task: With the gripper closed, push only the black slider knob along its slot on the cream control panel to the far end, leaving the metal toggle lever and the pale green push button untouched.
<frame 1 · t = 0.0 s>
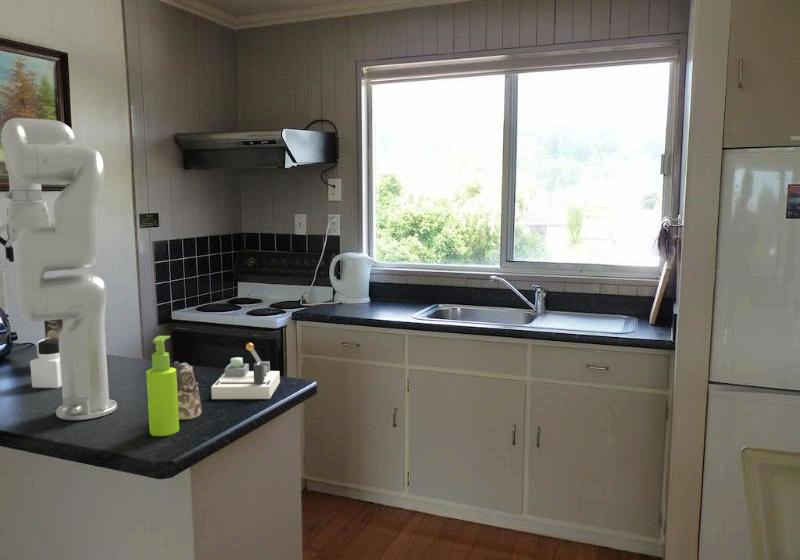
hand: (31, 260, 183), 31 cm above the worktop, tool pointing down, fingers open, 9 cm apart
slider knob: (259, 372, 165), point 6 cm above the worktop, slide at -4.0 cm
push button: (236, 363, 173), point 6 cm above the worktop, slide at 0.0 cm
toggle lever: (256, 357, 173), point 7 cm above the worktop, hinge at -30.0°
panel: (247, 390, 169), on the worktop
coffee box: (66, 365, 194), on the worktop
medicine bottle: (53, 385, 175), on the worktop
figurine: (185, 415, 151), on the worktop
soap dispenser: (165, 431, 142), on the worktop
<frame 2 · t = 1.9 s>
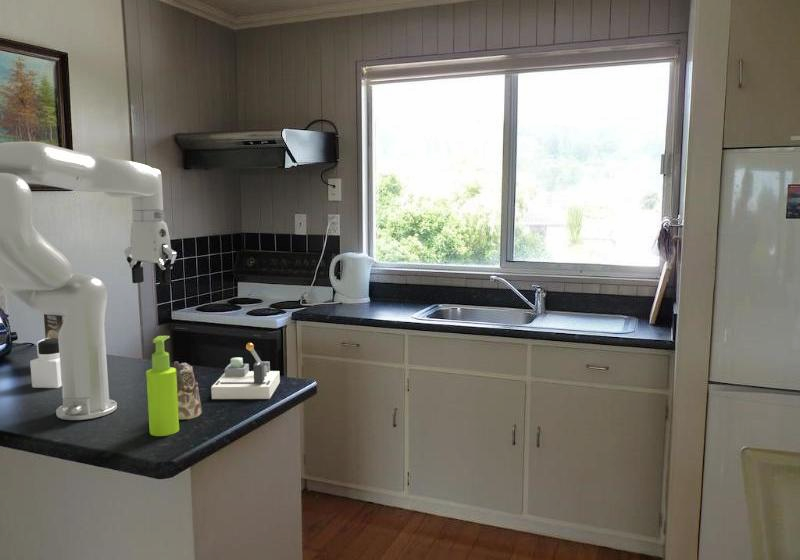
hand: (151, 283, 173), 26 cm above the worktop, tool pointing down, fingers open, 9 cm apart
nothing on the worktop moved.
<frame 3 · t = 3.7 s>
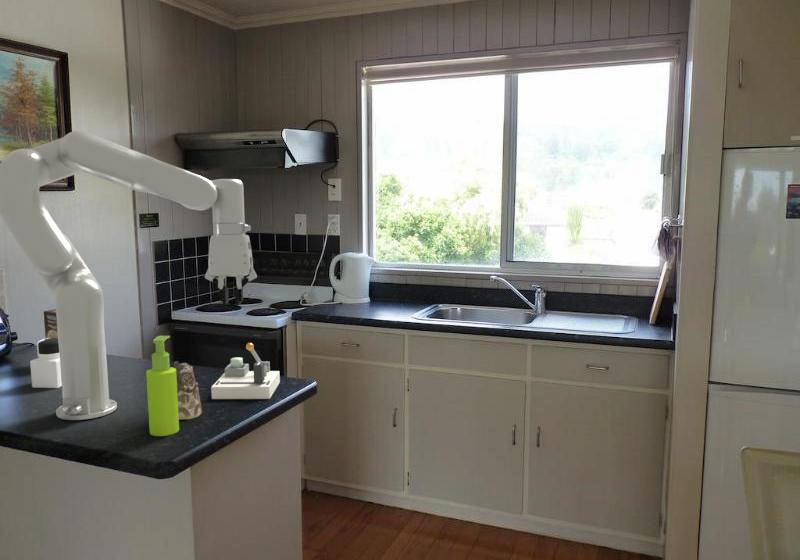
hand: (232, 303, 166), 22 cm above the worktop, tool pointing down, fingers closed
nothing on the worktop moved.
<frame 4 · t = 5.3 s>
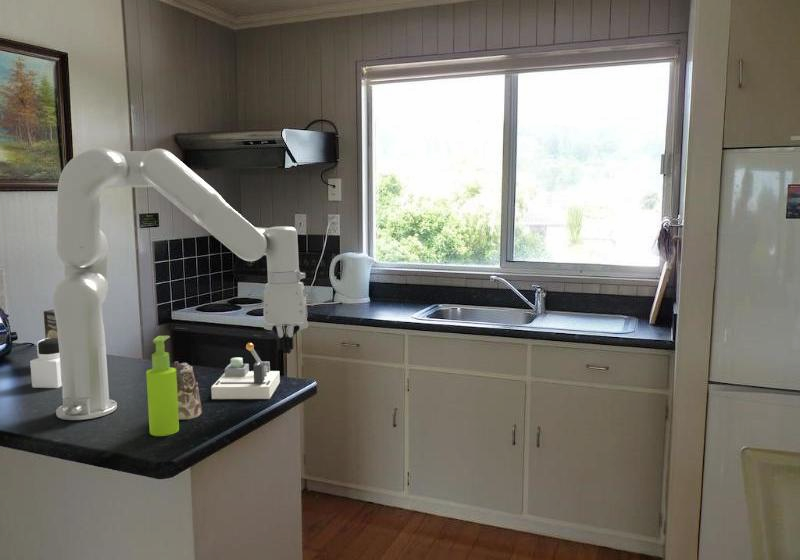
hand: (287, 352, 164), 11 cm above the worktop, tool pointing down, fingers closed
nothing on the worktop moved.
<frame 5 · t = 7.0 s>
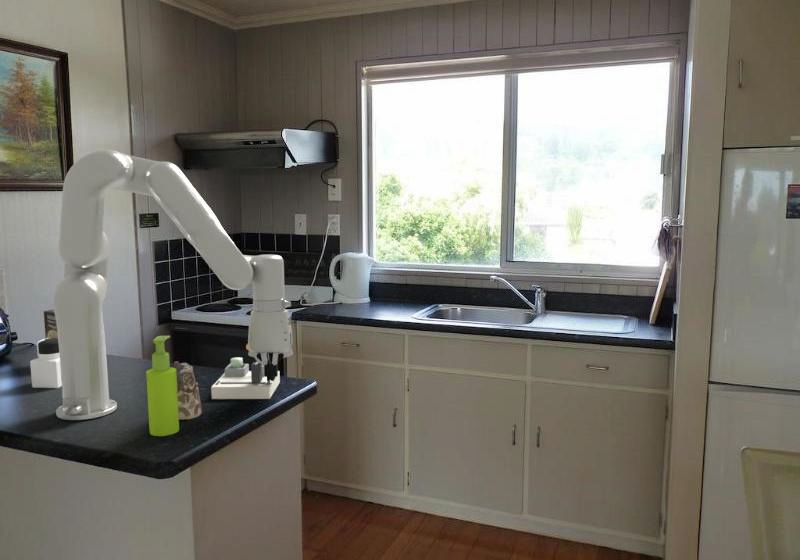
hand: (271, 379, 165), 4 cm above the worktop, tool pointing down, fingers closed
slider knob: (256, 372, 165), point 6 cm above the worktop, slide at -3.4 cm, touching gripper
everything else where it was.
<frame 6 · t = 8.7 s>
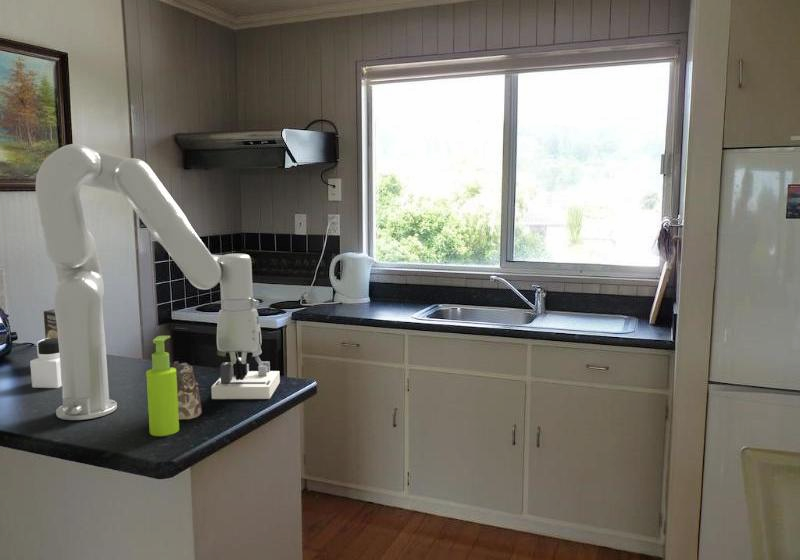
hand: (240, 378, 165), 4 cm above the worktop, tool pointing down, fingers closed
slider knob: (226, 372, 165), point 6 cm above the worktop, slide at 4.1 cm, touching gripper
everything else where it was.
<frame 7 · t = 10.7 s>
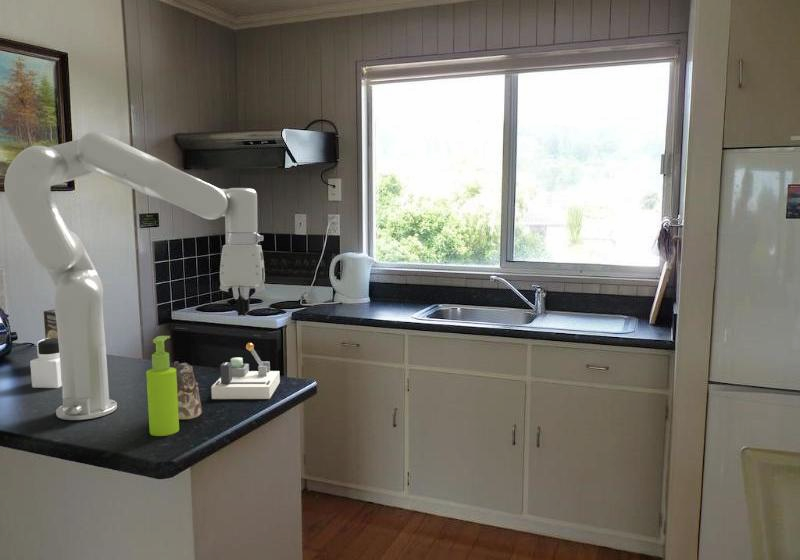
hand: (242, 314, 164), 20 cm above the worktop, tool pointing down, fingers closed
slider knob: (226, 372, 165), point 6 cm above the worktop, slide at 4.0 cm
everything else where it was.
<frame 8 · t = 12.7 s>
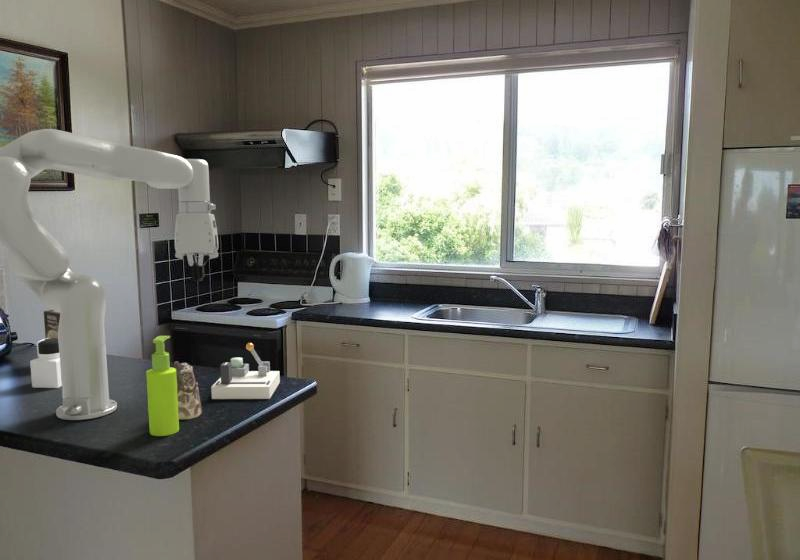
hand: (197, 280, 172), 27 cm above the worktop, tool pointing down, fingers closed
nothing on the worktop moved.
at the end: slider knob slide at 4.0 cm; toggle lever at -30° (first picture: -30°) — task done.
